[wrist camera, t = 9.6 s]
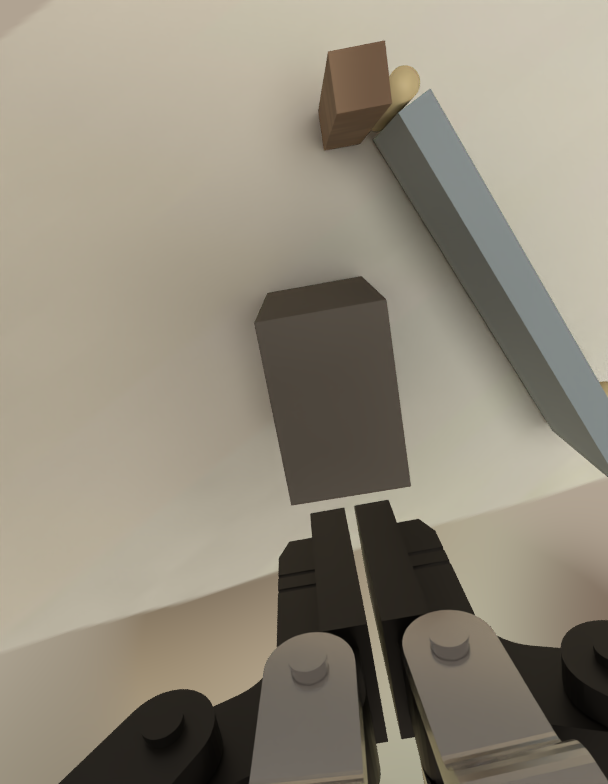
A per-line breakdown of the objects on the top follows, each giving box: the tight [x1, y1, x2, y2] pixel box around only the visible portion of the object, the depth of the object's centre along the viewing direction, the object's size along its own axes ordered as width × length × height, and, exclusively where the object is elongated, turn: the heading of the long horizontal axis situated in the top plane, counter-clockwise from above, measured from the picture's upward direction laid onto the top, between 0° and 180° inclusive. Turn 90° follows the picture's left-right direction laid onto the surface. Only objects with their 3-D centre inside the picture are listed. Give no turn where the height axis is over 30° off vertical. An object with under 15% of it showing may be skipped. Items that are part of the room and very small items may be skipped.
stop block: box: [254, 276, 411, 505], centre depth 24 cm, size 4×7×8 cm, turn 10°
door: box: [371, 66, 608, 477], centre depth 23 cm, size 18×3×6 cm, turn 35°
